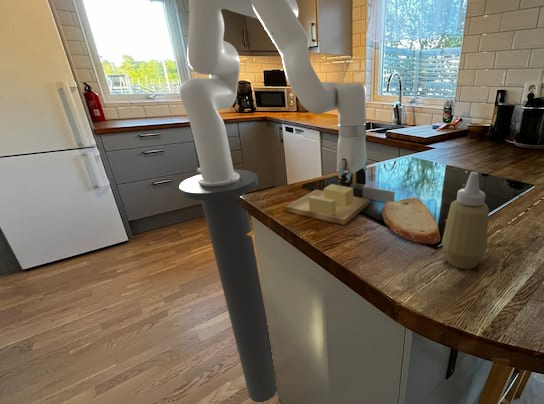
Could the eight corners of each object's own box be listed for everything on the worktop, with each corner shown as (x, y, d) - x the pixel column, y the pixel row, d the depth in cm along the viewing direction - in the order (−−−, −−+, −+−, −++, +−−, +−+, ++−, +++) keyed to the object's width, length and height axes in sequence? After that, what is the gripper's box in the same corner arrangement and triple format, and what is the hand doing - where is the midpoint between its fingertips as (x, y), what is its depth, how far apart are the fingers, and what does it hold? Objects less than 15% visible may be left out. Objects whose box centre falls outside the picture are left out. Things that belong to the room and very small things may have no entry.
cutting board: (286, 211, 80) (285, 206, 79) (316, 193, 91) (316, 189, 91) (344, 225, 72) (344, 219, 72) (369, 204, 84) (369, 199, 83)
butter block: (324, 201, 82) (323, 188, 80) (332, 196, 85) (331, 183, 84) (346, 206, 79) (345, 192, 77) (353, 200, 82) (353, 187, 80)
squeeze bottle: (441, 247, 63) (450, 164, 55) (482, 253, 60) (497, 168, 53) (438, 269, 56) (448, 178, 48) (484, 277, 53) (502, 182, 46)
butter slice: (309, 210, 76) (308, 197, 75) (312, 208, 78) (311, 195, 76) (332, 216, 73) (331, 202, 72) (335, 213, 75) (335, 199, 73)
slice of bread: (434, 248, 62) (436, 232, 61) (361, 227, 71) (361, 213, 69) (458, 216, 76) (460, 202, 75) (394, 201, 85) (395, 189, 83)
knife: (337, 194, 90) (336, 183, 89) (341, 191, 92) (340, 181, 91) (392, 204, 83) (392, 193, 82) (395, 201, 85) (396, 190, 84)
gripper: (354, 125, 91) (355, 178, 97) (323, 135, 76) (327, 197, 83) (377, 127, 87) (376, 182, 94) (349, 137, 73) (350, 201, 80)
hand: (353, 189), depth 89 cm, fingers open, 9 cm apart
